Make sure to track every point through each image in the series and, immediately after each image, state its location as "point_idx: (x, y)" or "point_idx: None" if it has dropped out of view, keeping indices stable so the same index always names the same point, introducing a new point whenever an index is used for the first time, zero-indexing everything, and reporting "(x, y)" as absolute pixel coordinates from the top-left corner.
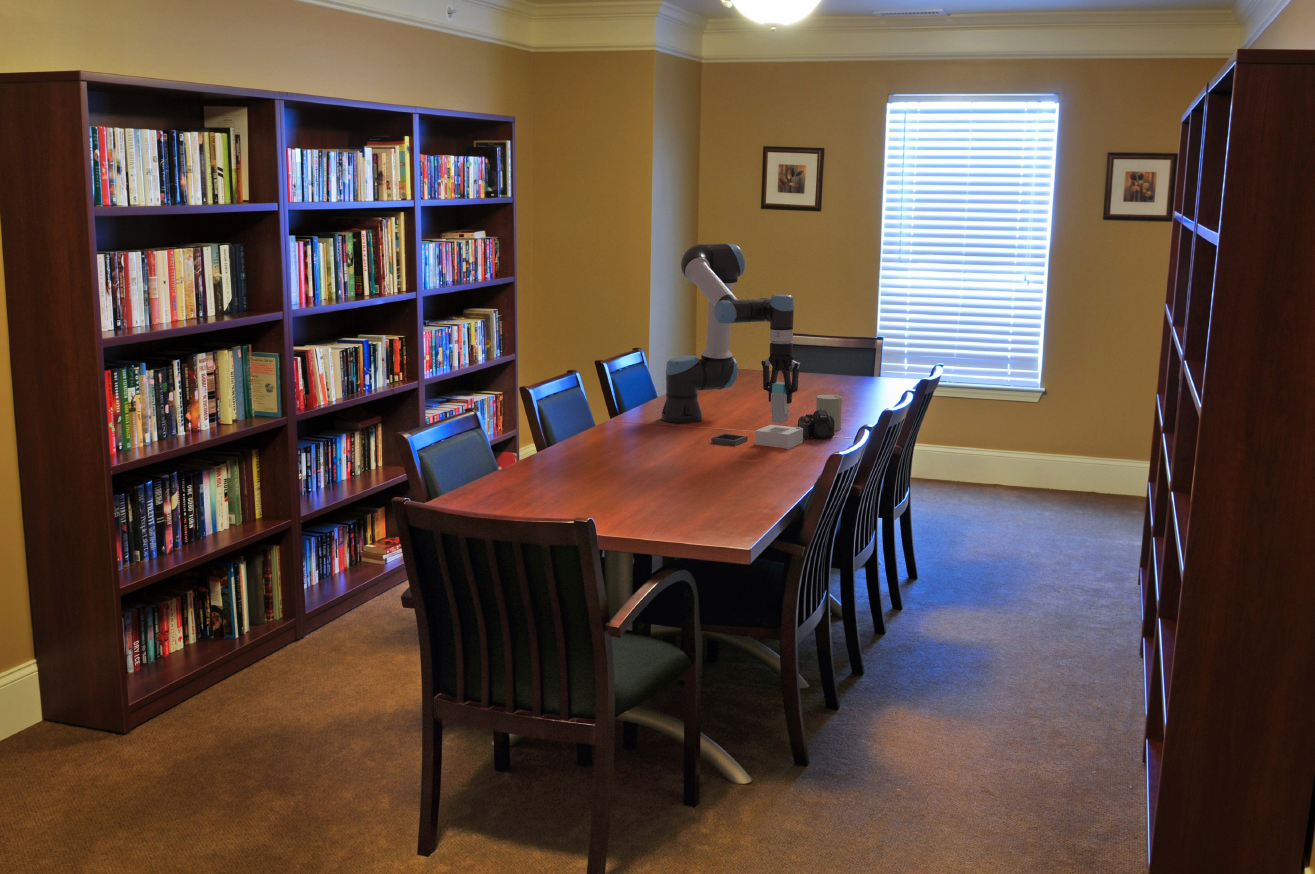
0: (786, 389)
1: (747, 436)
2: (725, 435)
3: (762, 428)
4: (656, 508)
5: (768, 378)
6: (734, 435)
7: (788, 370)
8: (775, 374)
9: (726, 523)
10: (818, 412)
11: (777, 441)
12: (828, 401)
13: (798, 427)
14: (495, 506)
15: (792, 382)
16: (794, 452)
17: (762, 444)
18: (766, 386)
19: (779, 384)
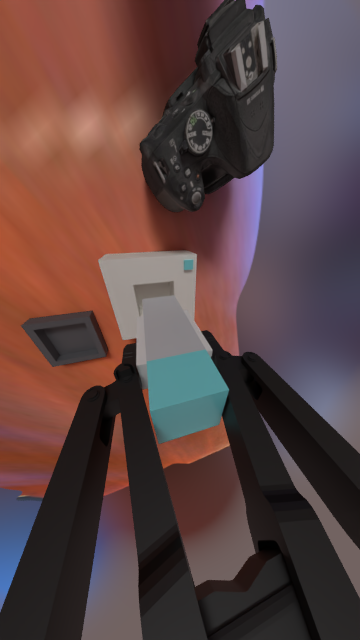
0: None
1: (89, 316)
2: (35, 328)
3: (119, 315)
4: (184, 450)
5: (92, 476)
6: (60, 325)
7: (309, 534)
8: (175, 516)
9: (222, 438)
10: (242, 141)
11: None
12: None
13: (190, 267)
14: (118, 486)
15: (267, 417)
16: (201, 322)
17: None
18: (113, 425)
19: (198, 428)
